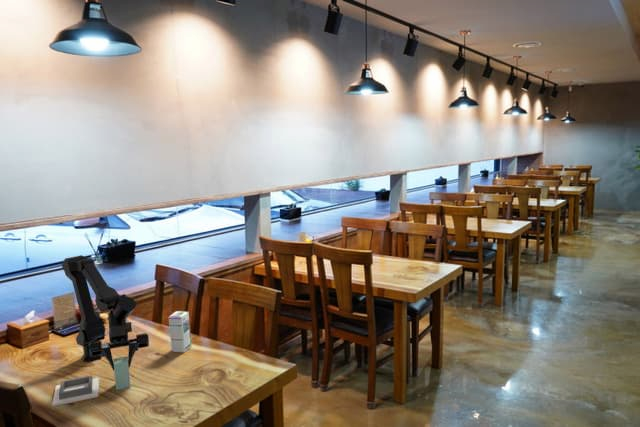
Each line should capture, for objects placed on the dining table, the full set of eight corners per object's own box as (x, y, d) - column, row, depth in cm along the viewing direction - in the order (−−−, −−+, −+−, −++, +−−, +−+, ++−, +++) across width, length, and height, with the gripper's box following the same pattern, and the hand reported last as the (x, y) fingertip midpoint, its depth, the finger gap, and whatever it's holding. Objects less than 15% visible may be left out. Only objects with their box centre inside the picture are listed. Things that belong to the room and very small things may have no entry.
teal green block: (115, 384, 167) (113, 358, 166) (129, 381, 168) (127, 356, 167) (116, 390, 163) (113, 364, 161) (130, 387, 164) (128, 361, 163)
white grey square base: (56, 387, 165) (55, 379, 165) (98, 379, 170) (98, 371, 170) (52, 406, 154) (51, 397, 153) (98, 396, 159) (97, 388, 158)
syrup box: (185, 352, 191) (182, 316, 189) (170, 351, 192) (168, 315, 190) (191, 346, 196) (189, 311, 194) (178, 345, 198) (175, 310, 196)
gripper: (86, 319, 162) (88, 364, 154) (146, 310, 170) (151, 353, 161) (89, 334, 171) (91, 378, 162) (146, 325, 178) (151, 366, 169)
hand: (121, 368), depth 163 cm, fingers closed on teal green block, 4 cm apart
